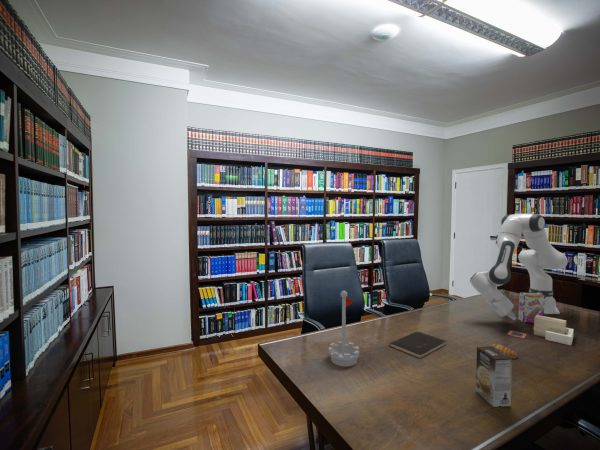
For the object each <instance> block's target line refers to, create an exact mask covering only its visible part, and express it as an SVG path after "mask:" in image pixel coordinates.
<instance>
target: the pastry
mask: <svg viewBox="0 0 600 450" xmlns="http://www.w3.org/2000/svg"><path fill="white" fill-rule="evenodd" d="M492 346H494V347H495V348H497V349H498V350H500V351H501V352H503V353H504V354H506V355H508V356H509V357H511V358H512V360H513V359H517V357H518V353H516V351H514V350H513V349H511V348H509V347H507V346H505V345H502V344H498V343H493V344H492Z"/></svg>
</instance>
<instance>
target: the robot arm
mask: <svg viewBox="0 0 600 450" xmlns="http://www.w3.org/2000/svg"><path fill="white" fill-rule="evenodd" d="M500 224H501V227H500V228H499V232H498V234H497V238H496V246H497V247H498V249H499V253H498V256H497V258H496V263H495V264H494V265H493V266H492V267H491V268H490V269H489V270H486V271H476V272H475V273H474V274H473V275H472V276H471V277H470V279H469V282H470V285H471V286H472V287H473V289H475V291H477V293H479V294H480V295H481V296H482V298H483V299H484V300H485V301H486V302H487V303H488V304H489V305H490V306H491V308H492V309H493V310H494V312H495V313H496V314H497V315H498V316H499V317H501V318H503V317H508V318H510V319H511V320H512V321H515V320H517V319H518V317H517V316H516V314H515V312H514V311H513V308H514V307H515V306H514V305H515V304H513V303H512V301H511V300H510V299H509V298H508V297H507V296H506V294H505V293H504V291H500V290H499V289H498V287H500V286H503V285H506V284H507V283H509V281H511V278H512V273H511V268H510V265H511V262H512V258H513V255H514V253H515V251H516V249H517V247H518V246H519V244H520V241H521V238H522V234H523V238H524V240H525V244H526V246H527V247H528V248H529V249H522V250H521V251H520V253H519V254H518V257H517V258H518V261H519V263H520V264H521V265H523V266H524V268H526V271H528V274H529V280H530V282H529V283H530V285H529V286H530V287H529V289H528V293H539V294H542V295H545V299H544V315H560V314H561V313H560V311H559V309H558V306H557V304H556V299H555V298H554V297H553V296H554V290H553V278H552V276H551V275H549V274H548V273H547V272H546V271H544V269H548V270H549V269H550V270H562V269H565V268H566V267H567V265H568V263H569V262H568V258H567V256H566V254H564V253H562V252H560V251H559V250H557V249H556V248H555V247H553V246H552V245H551V243H550V241H549V239H548V236H547V232H546V229H545V225H546V221H545V218H544V217H543V216H542V215H541V214H537V213H533V214H532V213H514V214H512V213H510V214H506V215H504V216H503V217H502V219H501V222H500Z"/></svg>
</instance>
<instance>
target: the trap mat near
mask: <svg viewBox="0 0 600 450" xmlns="http://www.w3.org/2000/svg"><path fill="white" fill-rule="evenodd" d="M507 336H512V337H515V338H516V337H517V338H521V339H525V338H526V337H527V333H524V332H519V331H515V330H509V331H508V333H507Z"/></svg>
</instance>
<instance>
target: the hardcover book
mask: <svg viewBox="0 0 600 450" xmlns="http://www.w3.org/2000/svg"><path fill="white" fill-rule="evenodd" d="M447 342H448V341H447V340H445V339H443V338H439V337H436V336H434V335H430V334H427V333H424V332H421V331H415V332H412V333H409V334H408V335H405V336H403V337H400V338H398V339H395V340H394V341H391V342H389V347H392V348H394V349H397V350H399V351H402V352H405V353H407V354H409V355H412V356H414V357H417V358H419V359H421V358H423V357H425V356H427V355H429V354H431V353H432V352H435V351H436V350H437V349H440V348H441V347H443V346H446V344H447Z"/></svg>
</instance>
